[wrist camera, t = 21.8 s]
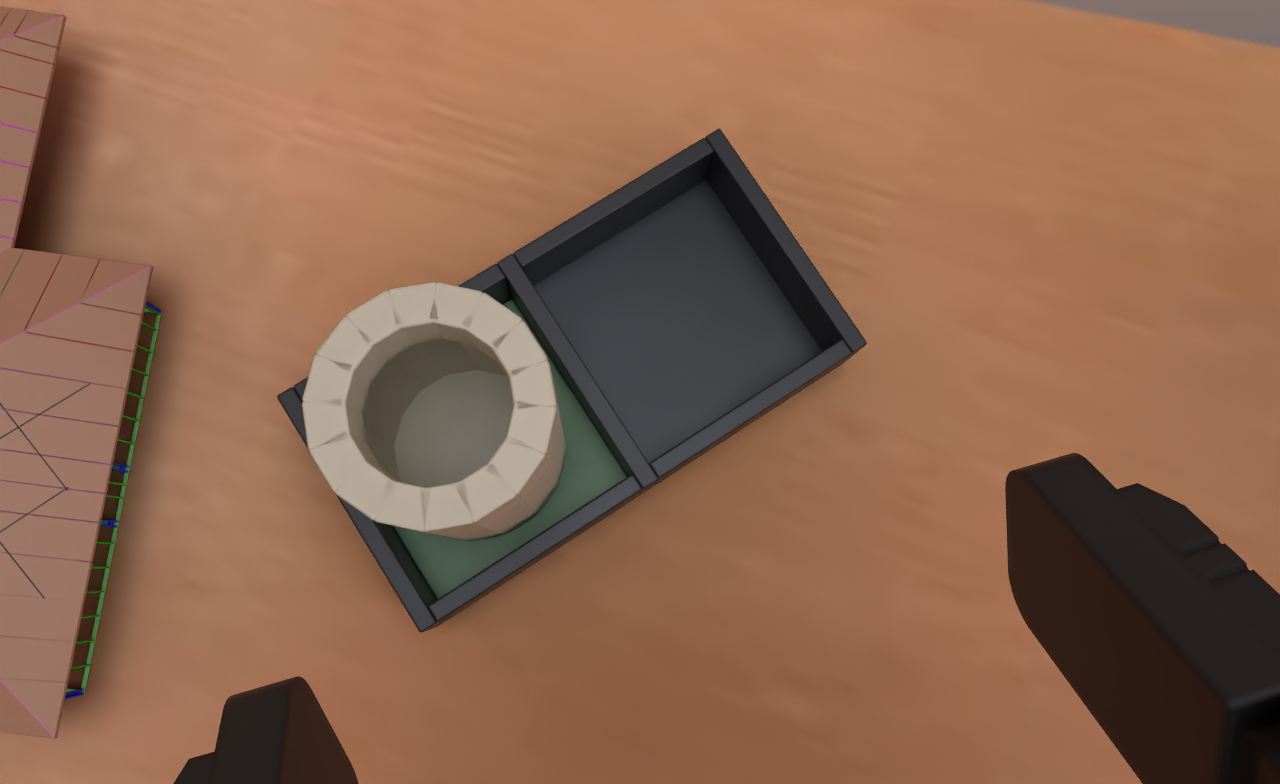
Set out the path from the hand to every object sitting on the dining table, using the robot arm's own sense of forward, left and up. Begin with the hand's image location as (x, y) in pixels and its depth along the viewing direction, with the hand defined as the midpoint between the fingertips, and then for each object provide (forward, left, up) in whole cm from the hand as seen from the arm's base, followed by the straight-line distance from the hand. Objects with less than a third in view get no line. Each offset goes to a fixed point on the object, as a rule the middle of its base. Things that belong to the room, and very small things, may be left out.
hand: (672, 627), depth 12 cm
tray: (-2, -7, -25) cm, 26 cm away
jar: (+2, -6, -24) cm, 25 cm away
